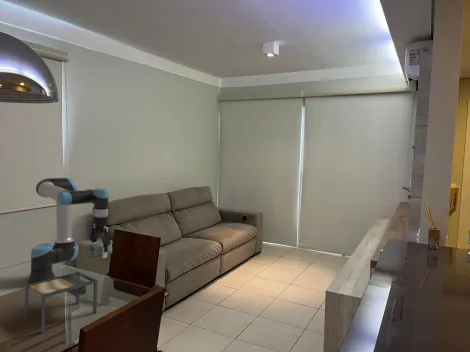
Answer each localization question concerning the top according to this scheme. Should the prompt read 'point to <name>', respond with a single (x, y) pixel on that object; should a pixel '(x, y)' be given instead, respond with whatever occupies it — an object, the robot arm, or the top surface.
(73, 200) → the robot arm
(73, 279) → the trapdoor
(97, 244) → the grey streaked egg shape
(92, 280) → the stand
